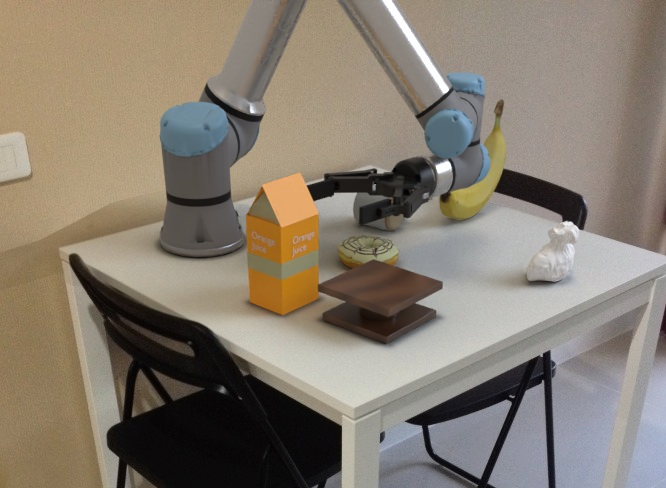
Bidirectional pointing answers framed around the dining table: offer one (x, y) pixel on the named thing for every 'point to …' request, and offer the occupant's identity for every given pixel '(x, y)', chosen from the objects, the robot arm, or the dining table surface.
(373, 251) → the decorated donut
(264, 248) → the orange juice
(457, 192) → the banana
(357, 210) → the ceramic mug
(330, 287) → the stand
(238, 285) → the dining table surface
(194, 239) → the robot arm
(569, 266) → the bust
